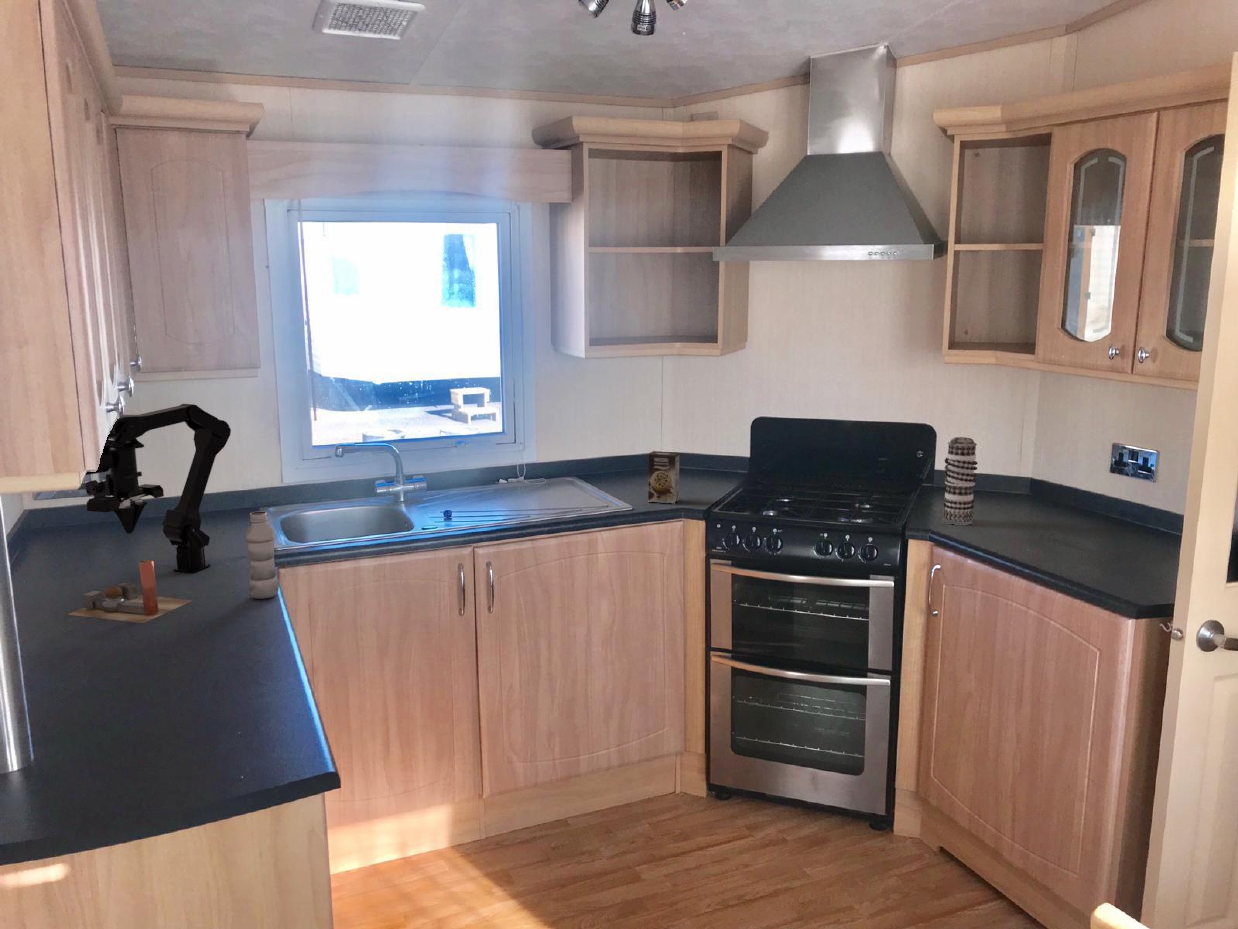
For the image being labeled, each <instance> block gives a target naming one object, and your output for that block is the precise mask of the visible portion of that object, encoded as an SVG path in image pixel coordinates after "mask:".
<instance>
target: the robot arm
mask: <svg viewBox="0 0 1238 929" xmlns="http://www.w3.org/2000/svg"><path fill="white" fill-rule="evenodd" d="M121 415H122V416H121V417H120V418H119V419H117V421H116V422H115V424H114V425H113V428H112V430H111V431H110V434H109V435H108V437H107V440H106V443H105V446H104V449H103V453H102V455H101V458H100V464H99V467H98V470H97V471H96V472H87V473H86V475H85V476H90V475H95V474H100V473H106V472H108V471H109V473H107V474H105V480H103V481H100V482H99V481H97V480H96V479H94V480H90V481H86V482H85V492H86V495H87V496H90V497H91V496H92V498H89V499H88V500H87V501H86V510H87V512H93V513H94V512H97V513H99V512H100V513H111V512H114V513H115V514H116V516H117V517H118V520H119V521H120V523H121V526H122V527H123V529H124V531H125V533H126V534H133V533H134V530H135V528H136V525H137V523H138V520H139V518H140V516H141V514H142V512H143V511H144V509H145V507H146V506H147V505H148V501H147V502H146V501H143V499H142V498H144V497H148V496H149V497H150V496H152V498H154V499H159V498H163V497H164V496H165V494H164V487H162V486H161V484H150V483H149V484H148V483H145V484H140V485H139V477H142V476H143V473H142V471H138V462H137V452H136V449H141V448H144V447H145V444H143V443H142V442H141V441H139V440H138V439H137V438H139V437H142V436H143V435H144V434H146V433H147V432H150V431H152V430H155V429H161V428H164V427H168V426H173V425H177V424H181V423H185V424H186V426H187V427H188V428H189V429H190V430H192V431H193V432H194V433H193V442H194V448H195V451H194V455H193V458H192V461H191V465H190V468H189V471H188V473H187V474H188V475H187V477H186V480H185V482H184V486H183V489H182V493H181V495H180V498H179V502H178V504H177V505H176V507H175V508H174V509H171V508H170V509H169V508H168V509H167V510H166V511H165V516H164V520H163V521H162V523H161V526H163V527H162V528H163V529H162V532H163V534H164V536H165V538H167V539H168V541H169V542H170V545H171V546H176V548H175V549H176V554H175V558H176V567H174V568H173V569H172V571H174V572H182V573H193V574H194V573H197V572H199V571H201V570H202V571H203V570H204V569H206V568H209V567H211V566H212V565H211V563H206V552H205V547H208V546H209V544H210V539H211V536H209V535H207V533H205V532H204V531H202V530H201V525H202V518H201V514H200V507H201V504H202V501H203V497H204V495H205V491H206V488H207V486H208V483H209V482H208V481H209V479H210V475H211V473H212V469H213V466H214V463H215V459H216V456H217V455H218V454H219V453H220V452H221V451H222V450H223V449H224V447H225V446H227V445H226V444H227V443H228V441H229V439H230V437H231V432H232V430H231V427H230V425H229V423H228V422H227V421H226V420H222V419H219V418H218V417H217V416H215V415H213V414H211V413H208V412H207V411H205V410H204V409H202V408H201V407H199V406H198V405H197V404H194V403H193V404H192V403H181V404H180V405H177V406H176V405H175V406H171V407H167V408H162V409H158V410H153V411H149V412H144V413H140V414H121Z"/></svg>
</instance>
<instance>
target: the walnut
mask: <svg viewBox="0 0 1238 929" xmlns="http://www.w3.org/2000/svg"><path fill="white" fill-rule="evenodd" d="M122 595H123V592H122V590H121V588H119V587H117V585H112V586H109V587H107V588H106V590H105V592H104V597H105V598H104V599H106V598H110V597H122Z"/></svg>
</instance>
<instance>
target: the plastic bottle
mask: <svg viewBox="0 0 1238 929" xmlns="http://www.w3.org/2000/svg"><path fill="white" fill-rule="evenodd" d="M267 521H268V514H267V511H263V510H262V511H261V510H260V511H259V510H258V511H253V512H250V513H249V522H250V523H251V524H250V525H249V527H248V529H247V530H246V533H245V536H244V537H245V543H246V546H247V550H248V558H249V564H250V565H249V566H250V569H249V570H250V576H249V586H248V589H249V591H250V592H249V593H250V595H251V596H252V597H253V598H255V599H260V600H262V599H263V600H264V599H271V598H272V597H273V598H274V597H275V596H277V594H278V593H279V588H280V586H279V585H280V583H279V580H278V576H277V571H276V566H275V551H274V550H275V538H276V537H275V535H276V534H275V531H274V529H273V528H272V527H271V525H270V524H268V523H267Z"/></svg>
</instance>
